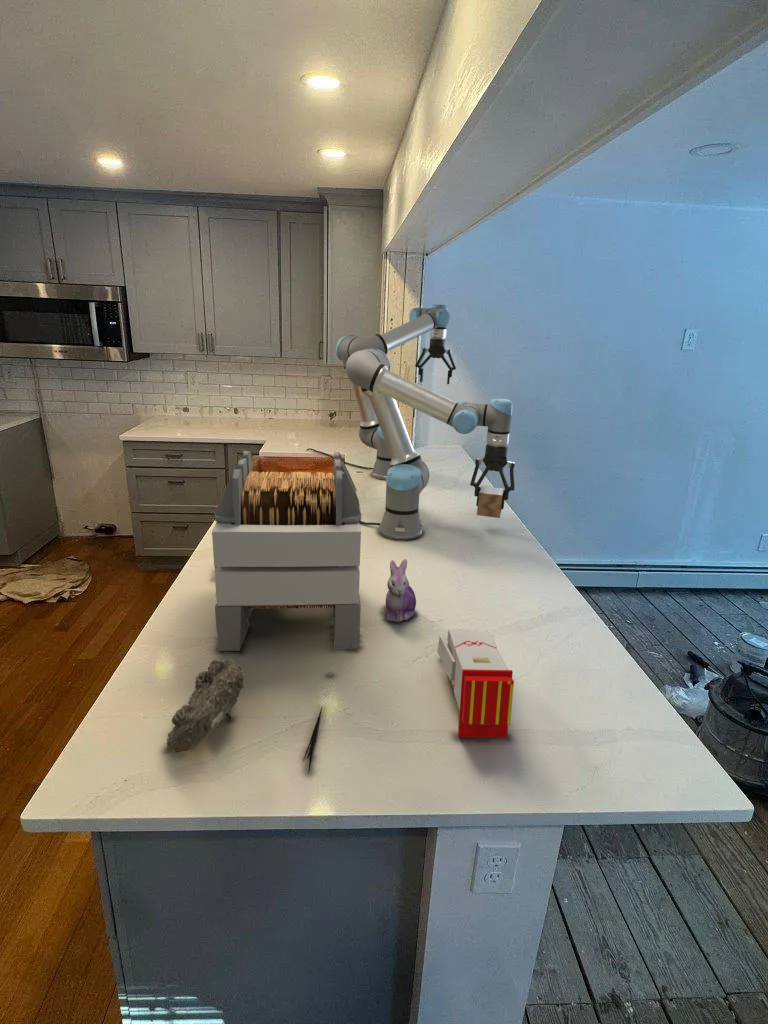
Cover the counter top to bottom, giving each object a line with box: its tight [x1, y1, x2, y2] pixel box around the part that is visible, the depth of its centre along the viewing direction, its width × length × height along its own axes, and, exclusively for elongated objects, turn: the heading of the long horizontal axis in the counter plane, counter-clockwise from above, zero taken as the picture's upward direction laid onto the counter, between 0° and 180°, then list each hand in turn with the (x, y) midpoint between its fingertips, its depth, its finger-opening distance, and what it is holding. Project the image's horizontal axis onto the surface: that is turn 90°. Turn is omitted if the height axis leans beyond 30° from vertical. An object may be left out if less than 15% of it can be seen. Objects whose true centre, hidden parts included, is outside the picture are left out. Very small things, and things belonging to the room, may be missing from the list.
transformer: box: [211, 450, 362, 653], centre depth 138 cm, size 34×33×41 cm
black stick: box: [301, 673, 332, 771], centre depth 108 cm, size 2×28×2 cm
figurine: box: [384, 558, 417, 623], centre depth 145 cm, size 9×10×15 cm
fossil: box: [166, 658, 245, 754], centre depth 106 cm, size 22×10×15 cm
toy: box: [437, 628, 515, 738], centre depth 117 cm, size 12×13×30 cm
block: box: [476, 485, 505, 519], centre depth 203 cm, size 8×8×8 cm
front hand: (489, 506), depth 204 cm, fingers closed on block, 8 cm apart
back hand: (434, 383), depth 281 cm, fingers open, 13 cm apart
